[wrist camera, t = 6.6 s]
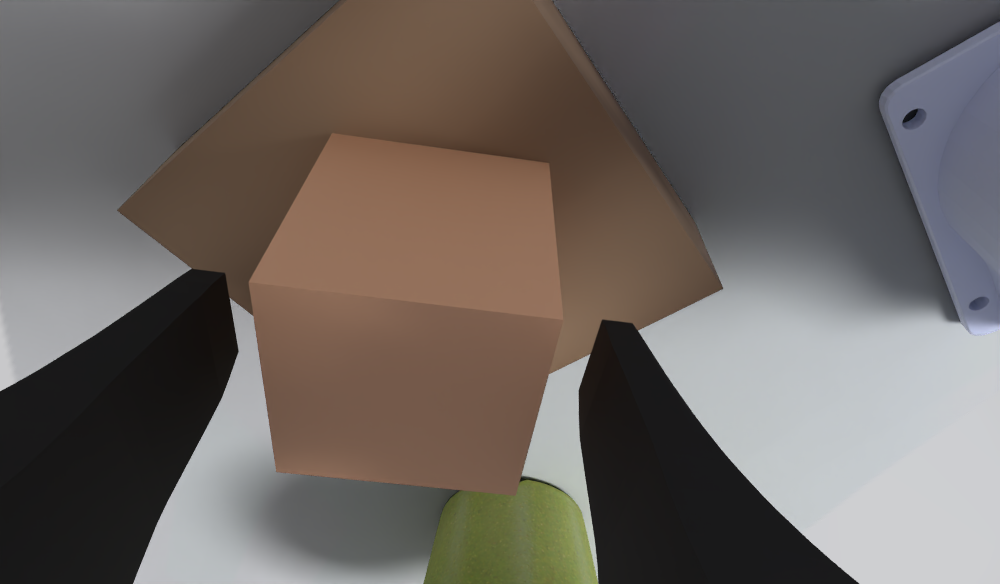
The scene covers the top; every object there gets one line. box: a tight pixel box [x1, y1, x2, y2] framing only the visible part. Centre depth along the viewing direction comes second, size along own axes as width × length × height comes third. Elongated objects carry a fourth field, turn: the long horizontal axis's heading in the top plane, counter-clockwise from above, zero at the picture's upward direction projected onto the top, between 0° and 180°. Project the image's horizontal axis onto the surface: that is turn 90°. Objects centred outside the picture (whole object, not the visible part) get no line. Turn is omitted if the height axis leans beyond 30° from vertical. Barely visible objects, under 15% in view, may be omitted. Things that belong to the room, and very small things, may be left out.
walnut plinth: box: [117, 0, 723, 374], centre depth 15 cm, size 10×10×3 cm
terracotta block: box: [249, 133, 563, 496], centre depth 12 cm, size 4×4×5 cm
